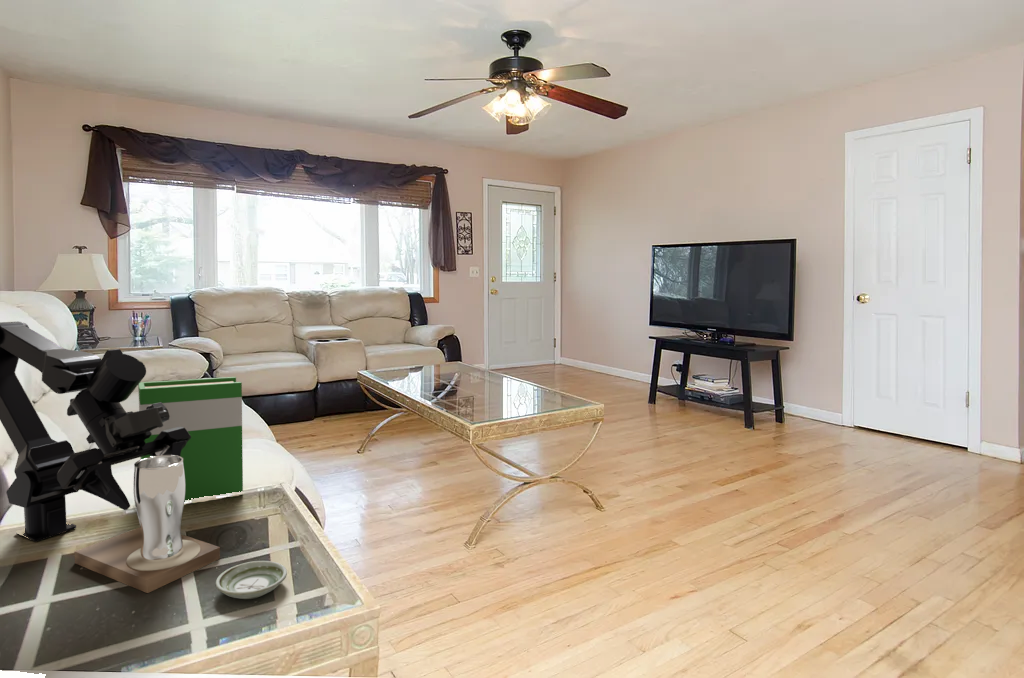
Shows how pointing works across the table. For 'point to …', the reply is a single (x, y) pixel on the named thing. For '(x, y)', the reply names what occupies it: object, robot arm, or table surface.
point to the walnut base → (126, 566)
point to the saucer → (251, 579)
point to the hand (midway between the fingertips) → (156, 498)
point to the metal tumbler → (160, 506)
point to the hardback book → (203, 430)
